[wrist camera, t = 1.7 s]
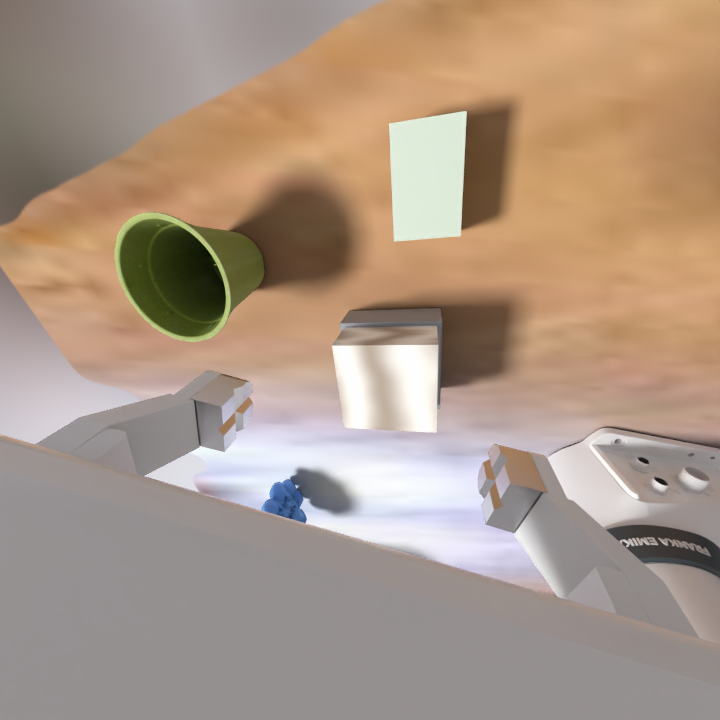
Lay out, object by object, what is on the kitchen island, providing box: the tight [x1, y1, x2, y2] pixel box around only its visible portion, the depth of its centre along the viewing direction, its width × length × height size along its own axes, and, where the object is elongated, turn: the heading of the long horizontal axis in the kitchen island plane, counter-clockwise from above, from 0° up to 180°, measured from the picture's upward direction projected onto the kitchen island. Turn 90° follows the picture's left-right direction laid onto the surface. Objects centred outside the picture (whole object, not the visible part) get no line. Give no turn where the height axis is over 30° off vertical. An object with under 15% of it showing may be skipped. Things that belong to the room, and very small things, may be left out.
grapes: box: [261, 479, 307, 523], centre depth 50 cm, size 12×7×12 cm, turn 20°
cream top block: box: [332, 326, 438, 433], centre depth 33 cm, size 10×10×5 cm
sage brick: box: [389, 111, 467, 241], centre depth 28 cm, size 6×9×5 cm, turn 5°
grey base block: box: [340, 308, 442, 409], centre depth 37 cm, size 11×11×5 cm
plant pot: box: [115, 212, 265, 342], centre depth 33 cm, size 12×12×11 cm
